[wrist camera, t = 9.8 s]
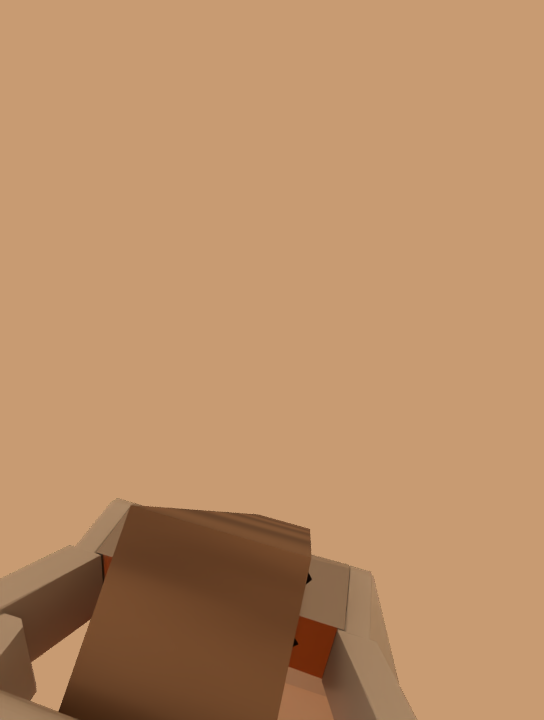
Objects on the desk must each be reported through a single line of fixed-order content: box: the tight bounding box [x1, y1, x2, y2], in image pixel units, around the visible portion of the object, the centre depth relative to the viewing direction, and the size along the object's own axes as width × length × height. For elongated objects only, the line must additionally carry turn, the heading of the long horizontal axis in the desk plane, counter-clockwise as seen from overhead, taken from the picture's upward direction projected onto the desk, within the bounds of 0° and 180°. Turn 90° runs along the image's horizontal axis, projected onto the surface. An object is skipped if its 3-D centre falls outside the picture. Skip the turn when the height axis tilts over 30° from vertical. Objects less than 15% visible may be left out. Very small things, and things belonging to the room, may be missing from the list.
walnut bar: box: [59, 505, 311, 720], centre depth 18 cm, size 22×4×4 cm, turn 171°
